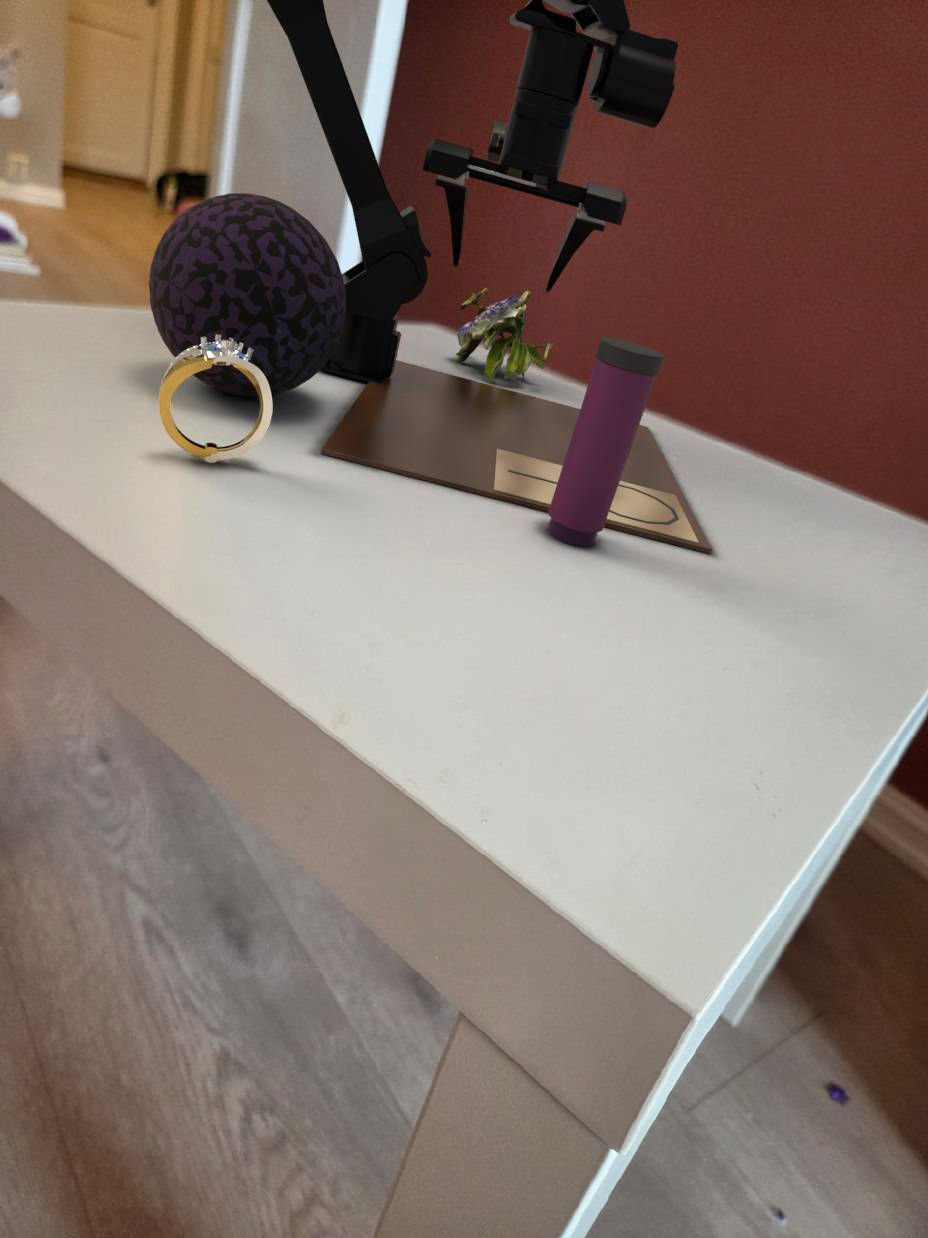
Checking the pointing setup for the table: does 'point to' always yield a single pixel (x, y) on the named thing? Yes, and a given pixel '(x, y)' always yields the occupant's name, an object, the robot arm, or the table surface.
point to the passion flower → (495, 322)
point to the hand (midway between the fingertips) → (501, 278)
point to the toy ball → (249, 289)
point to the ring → (213, 354)
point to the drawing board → (501, 449)
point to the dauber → (602, 439)
